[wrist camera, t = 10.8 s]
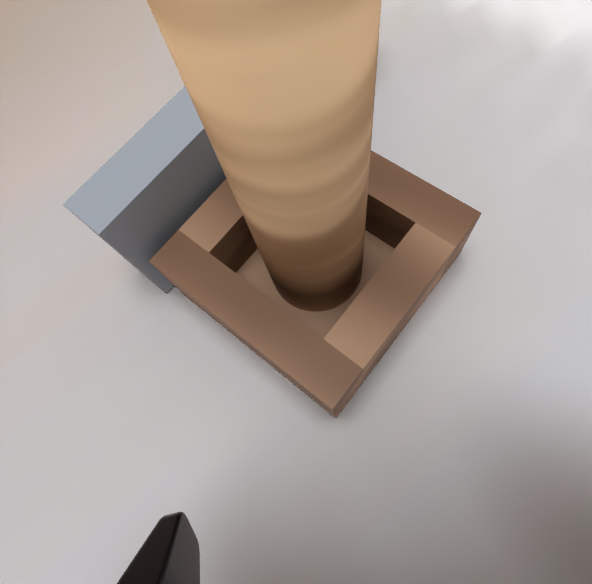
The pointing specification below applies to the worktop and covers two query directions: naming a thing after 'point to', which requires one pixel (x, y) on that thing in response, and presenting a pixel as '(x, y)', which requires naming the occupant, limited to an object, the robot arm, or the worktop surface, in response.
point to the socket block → (342, 319)
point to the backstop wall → (151, 186)
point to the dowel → (287, 126)
